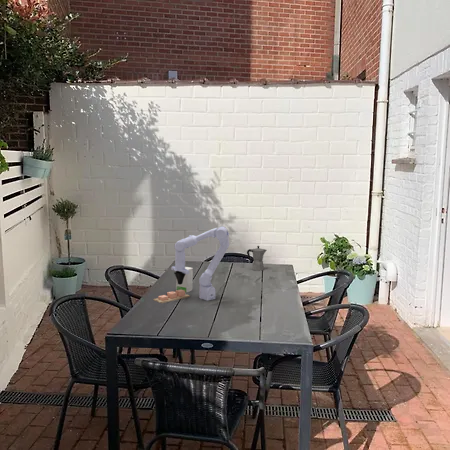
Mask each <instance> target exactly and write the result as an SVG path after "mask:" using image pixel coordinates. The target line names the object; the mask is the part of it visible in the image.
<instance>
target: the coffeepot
mask: <svg viewBox="0 0 450 450" xmlns="http://www.w3.org/2000/svg"><path fill="white" fill-rule="evenodd" d="M251 252H252V258H251V254H250V253H251ZM266 252H267V249H265V248H260V245H257V247H256V248H249V249H247V250H246V254H247V257H248V260H249V261H253V262H252V266H251V270H252V271H254V272H259V271H260V272H261V271H264V270H265V266H264V261H263V259H264V255H265V253H266Z"/></svg>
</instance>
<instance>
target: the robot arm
mask: <svg viewBox="0 0 450 450" xmlns="http://www.w3.org/2000/svg"><path fill="white" fill-rule="evenodd" d="M229 235H230V233H229V230H228V229H227V228H226V226H222V225H221V226H219V227H215V228H212V229H209V230H206V231H205V232H203V233H200V234H198V235H193V234H189V235H188V236H187V237H185V238H181V239H180V240H177V241H176V242H175V244H174V253H175V255H174V259H175V261H174V263H175V265H173V266H171V267H170V268H171V271H174V272H173V273H174V274H173V275H174V276H175V277H176V278H177V282H178V284H179V285H180V284H182V283H183V279H184V277H185V275H186V274H189V270H187V269H185V267H186V249H189V248H191V247H194V246H197V245H198V243H199V242H200V241H203V240H205V239H208V238H216V239H217V240H218V242H219V247H218V249H217V251H216V252H215V253H214V256H213V257H212V259H211V261H210V263H209V264H208V266H207V268H206V270H205V271H203V272H202V274H201V275H200V276H199V278H198V282H199V285H198V286H199V293H198V298H199V299H200V300H203V301H204V300H205V301H212V300H216V288H215V287H214V286H213V284H212V282H211V281H212V278H213V275H214V273H215V271H216V269H217V267H218V266H219V264H220V263H221V260H222V259H223V257H224V255H225V254H226V252H227V251H228V249H229V247H230V236H229Z"/></svg>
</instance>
